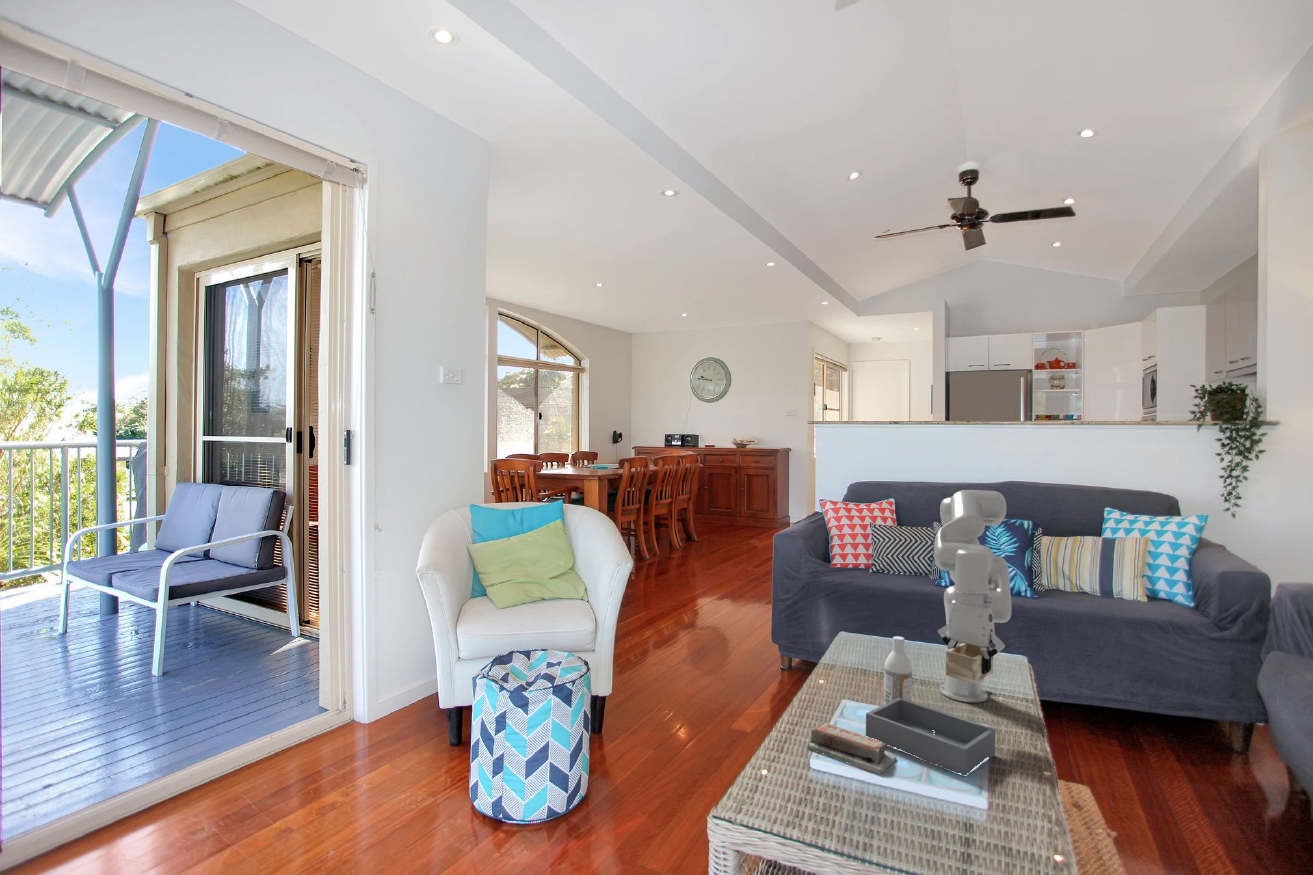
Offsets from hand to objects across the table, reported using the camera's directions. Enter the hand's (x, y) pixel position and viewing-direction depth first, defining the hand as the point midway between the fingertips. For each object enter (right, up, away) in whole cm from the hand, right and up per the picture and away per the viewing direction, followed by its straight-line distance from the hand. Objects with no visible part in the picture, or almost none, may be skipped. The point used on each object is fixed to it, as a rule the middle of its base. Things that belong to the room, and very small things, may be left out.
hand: (969, 668), depth 163 cm
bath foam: (-14, -16, +12) cm, 24 cm away
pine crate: (0, -1, 0) cm, 1 cm away
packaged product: (-34, -16, -13) cm, 40 cm away
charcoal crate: (-14, -16, -8) cm, 22 cm away
